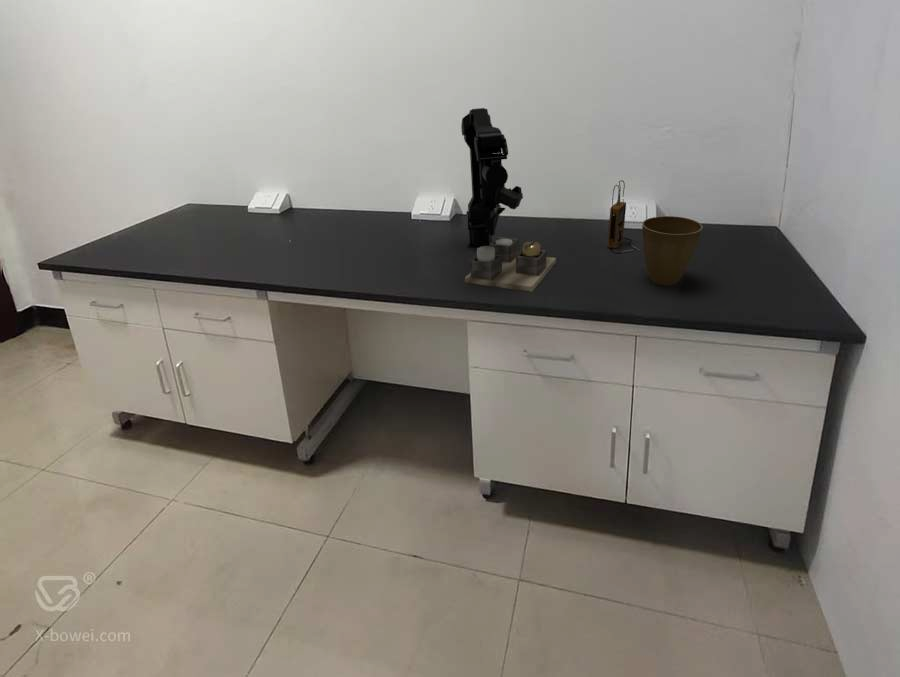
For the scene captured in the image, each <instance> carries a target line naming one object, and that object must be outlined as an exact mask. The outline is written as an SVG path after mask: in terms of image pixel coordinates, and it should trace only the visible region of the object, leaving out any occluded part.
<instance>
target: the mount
mask: <svg viewBox="0 0 900 677" xmlns="http://www.w3.org/2000/svg"><path fill="white" fill-rule="evenodd" d="M498 239H511V240H512V244H511V245H510V246H507V245H498V244H496V240H498ZM492 241H493V242H491V243H490V244H489V246H491V247H494V248H495V260H494V261H493V262H492V263H488V262H480V261H477V255H475V256H474V257H473V258H472V259H471V260H470V262H469V263H470V264H469V266H470V273H468V274H467V275H466V276H465V278H464V283H466V284H473V285H480V286H487V287H495V288H503V289H510V290H516V291H524V292H529V293H530V292H531V293H532V292H533V291H534V289H535V288H537V286H538V285H539V284H540V283H541V282H542V281H543V279H544V278H545V277H546V276H547V274H548V273H549V271H550V270H552V268H553V267H554V266H553V265H555V264H556V263H557V258H556V257H550V256H547V250H542V249H540V256H539V257H538V258H531V257H522V250H520V248H519V246H520V245H519V244H520V242H519V241H520V240H519V238H513V237H503V236H497V237H496V238H495V239H494V240H492ZM519 251H520V252H519Z"/></svg>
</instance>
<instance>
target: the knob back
mask: <svg viewBox="0 0 900 677" xmlns="http://www.w3.org/2000/svg"><path fill="white" fill-rule="evenodd" d="M496 244H498V245H507V246H510V245H511V244H512V240H511V239H498V240H496Z"/></svg>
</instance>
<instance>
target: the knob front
mask: <svg viewBox="0 0 900 677" xmlns="http://www.w3.org/2000/svg"><path fill="white" fill-rule="evenodd" d="M476 256H477V261H480V262H488V263H492V262H493V261H494V260H495V248H494V247H491V246H482V247H479V248H476Z"/></svg>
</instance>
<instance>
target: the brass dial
mask: <svg viewBox="0 0 900 677" xmlns="http://www.w3.org/2000/svg"><path fill="white" fill-rule="evenodd" d="M540 250H541V243H540V242H537V241H526V242H523V243H522V250H521V251H522V257H531V258H538V257H539V256H540Z"/></svg>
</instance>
